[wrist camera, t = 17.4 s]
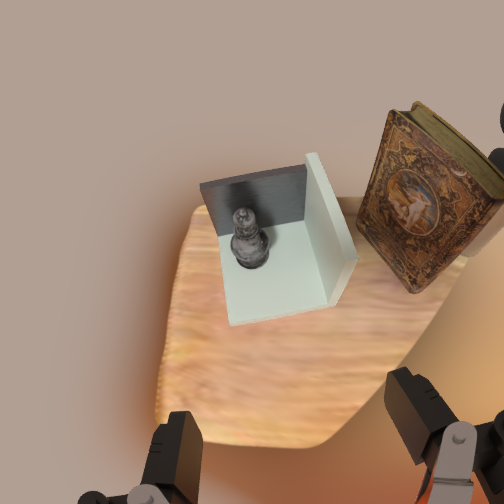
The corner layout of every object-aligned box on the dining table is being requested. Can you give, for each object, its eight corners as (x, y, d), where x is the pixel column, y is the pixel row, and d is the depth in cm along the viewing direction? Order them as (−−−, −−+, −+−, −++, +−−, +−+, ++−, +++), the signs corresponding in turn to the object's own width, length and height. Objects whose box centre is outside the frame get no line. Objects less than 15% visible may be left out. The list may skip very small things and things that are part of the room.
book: (433, 280, 42) (515, 188, 20) (413, 298, 41) (500, 207, 20) (375, 212, 50) (414, 98, 28) (354, 225, 49) (388, 106, 27)
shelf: (309, 219, 50) (316, 152, 36) (335, 305, 43) (359, 258, 29) (219, 236, 51) (196, 173, 37) (231, 326, 43) (204, 288, 29)
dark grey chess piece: (226, 258, 46) (208, 214, 36) (249, 232, 48) (238, 183, 38) (255, 278, 44) (245, 237, 34) (278, 250, 46) (275, 203, 35)
